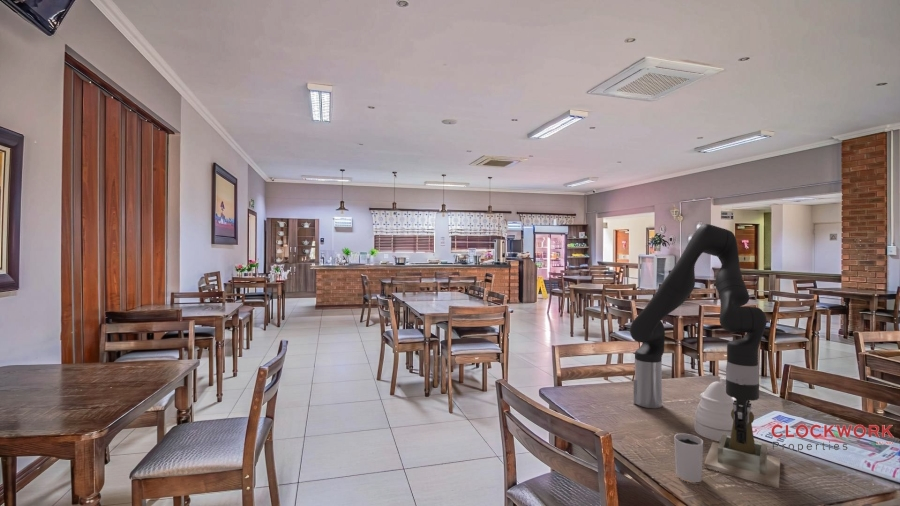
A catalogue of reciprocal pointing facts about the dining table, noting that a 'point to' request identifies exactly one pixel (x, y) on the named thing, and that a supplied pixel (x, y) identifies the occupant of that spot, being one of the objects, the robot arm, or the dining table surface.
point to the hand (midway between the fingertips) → (742, 441)
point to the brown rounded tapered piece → (749, 445)
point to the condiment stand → (744, 462)
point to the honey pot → (714, 412)
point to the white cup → (688, 456)
